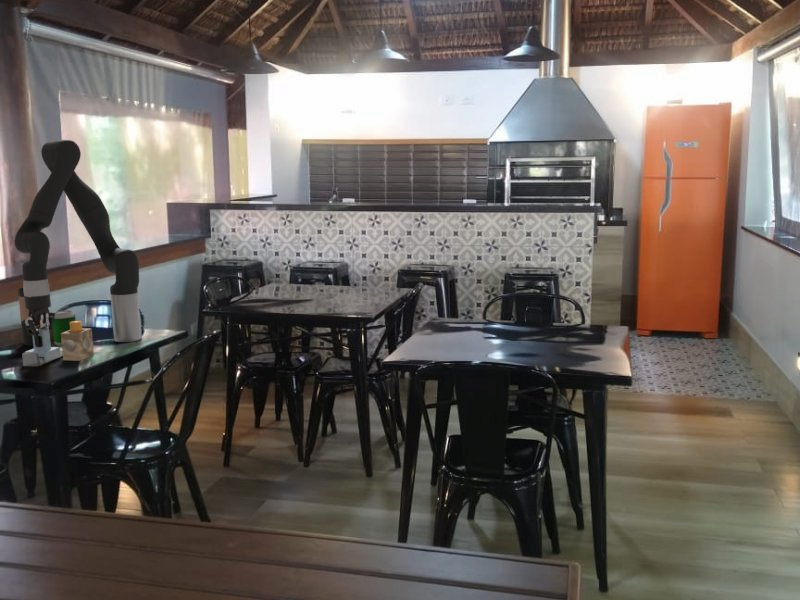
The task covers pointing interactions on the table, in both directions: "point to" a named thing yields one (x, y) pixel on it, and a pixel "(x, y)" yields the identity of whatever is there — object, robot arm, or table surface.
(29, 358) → the rail
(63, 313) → the soda can
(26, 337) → the travel mug
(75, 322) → the orange rounded piece
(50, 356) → the carriage
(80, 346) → the open wooden box
